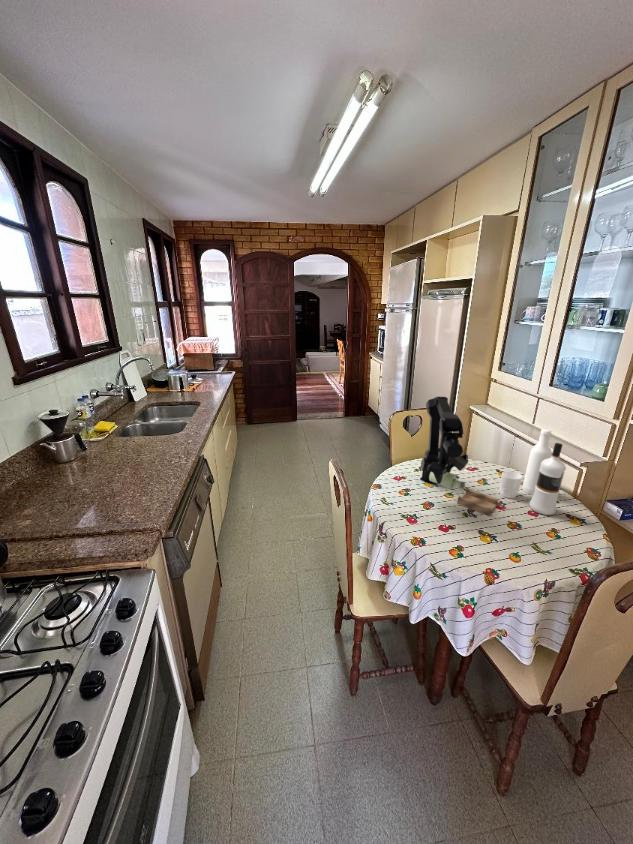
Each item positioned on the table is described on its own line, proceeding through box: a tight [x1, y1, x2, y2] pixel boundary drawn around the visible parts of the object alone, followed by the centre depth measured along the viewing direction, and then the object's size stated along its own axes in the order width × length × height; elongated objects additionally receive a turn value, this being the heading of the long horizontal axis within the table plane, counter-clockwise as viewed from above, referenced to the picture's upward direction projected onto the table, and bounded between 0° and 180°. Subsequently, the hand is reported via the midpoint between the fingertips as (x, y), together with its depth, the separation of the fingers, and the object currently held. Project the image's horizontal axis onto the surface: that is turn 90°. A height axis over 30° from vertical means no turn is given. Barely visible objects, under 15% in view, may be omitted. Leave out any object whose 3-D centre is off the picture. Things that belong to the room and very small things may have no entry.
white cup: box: [499, 470, 523, 499], centre depth 154 cm, size 8×8×10 cm
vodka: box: [529, 442, 567, 516], centre depth 140 cm, size 9×9×30 cm
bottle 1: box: [429, 472, 466, 490], centre depth 143 cm, size 13×6×6 cm, turn 46°
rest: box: [456, 488, 499, 517], centre depth 148 cm, size 13×10×3 cm
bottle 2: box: [521, 428, 553, 496], centre depth 154 cm, size 8×8×30 cm
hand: (442, 481), depth 145 cm, fingers closed on bottle 1, 6 cm apart
